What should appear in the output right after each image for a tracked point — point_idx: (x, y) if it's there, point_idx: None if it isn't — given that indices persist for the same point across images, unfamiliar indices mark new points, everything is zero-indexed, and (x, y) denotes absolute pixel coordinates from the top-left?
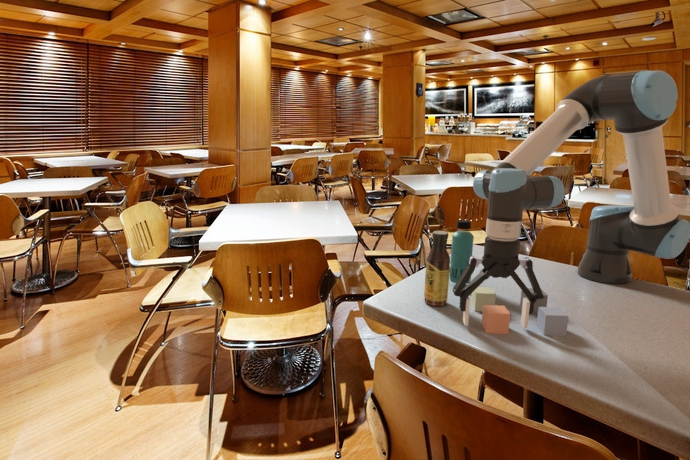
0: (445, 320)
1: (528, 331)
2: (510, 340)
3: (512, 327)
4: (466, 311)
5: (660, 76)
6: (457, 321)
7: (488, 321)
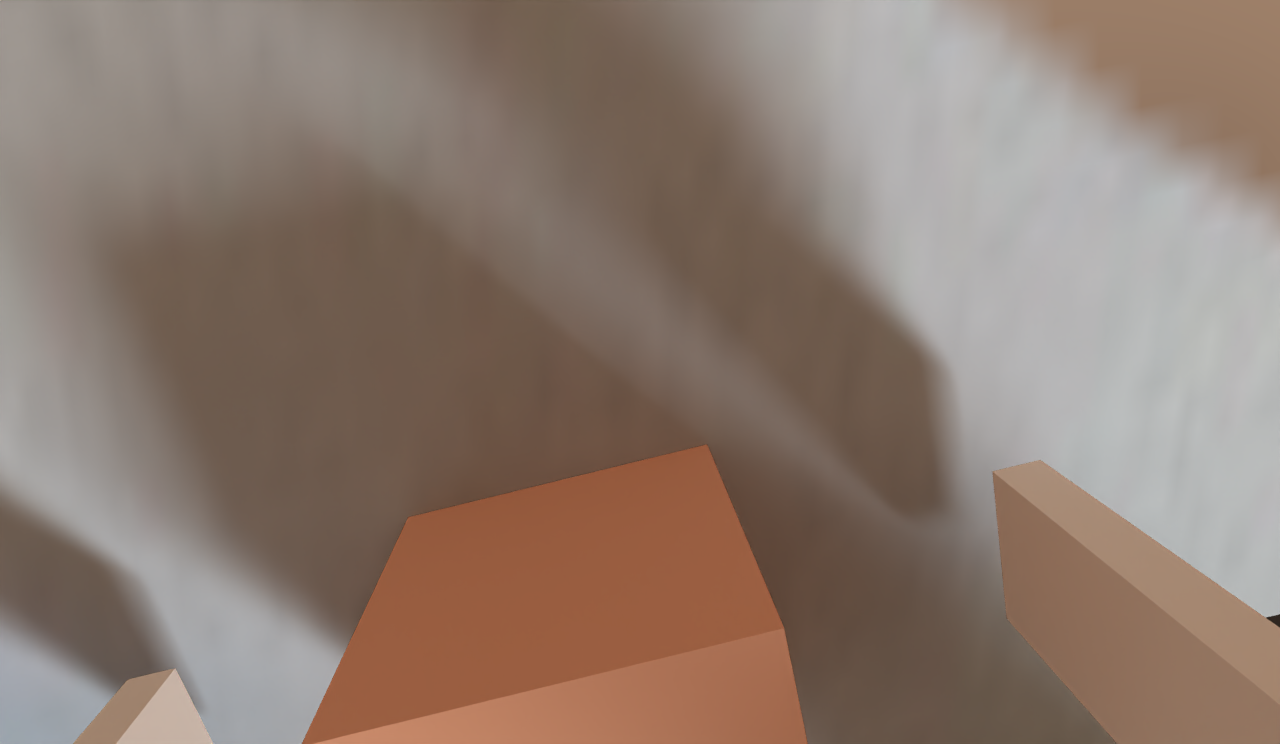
0: None
1: None
2: (366, 309)
3: None
4: (1219, 595)
5: None
6: None
7: (723, 536)
